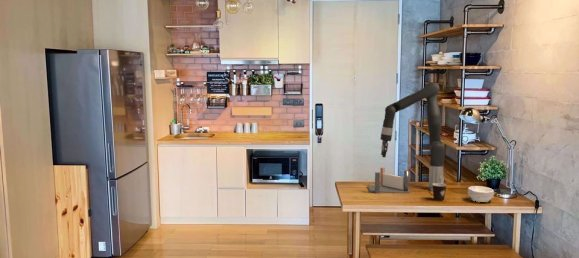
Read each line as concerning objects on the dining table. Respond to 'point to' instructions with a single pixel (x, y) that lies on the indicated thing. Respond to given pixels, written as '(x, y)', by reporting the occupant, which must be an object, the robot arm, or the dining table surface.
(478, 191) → the paper bowls
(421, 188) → the dining table surface
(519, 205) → the dining table surface
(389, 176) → the gate
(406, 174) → the gate posts
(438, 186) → the coffee mug
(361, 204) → the dining table surface
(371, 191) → the mat
